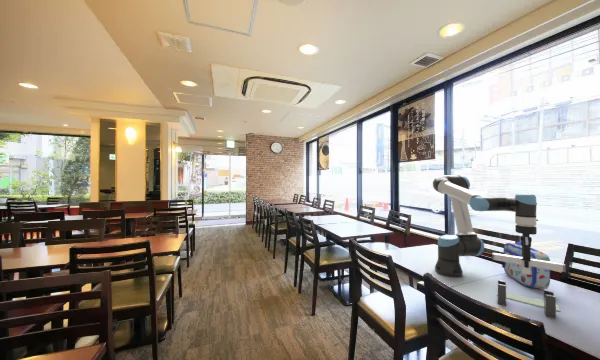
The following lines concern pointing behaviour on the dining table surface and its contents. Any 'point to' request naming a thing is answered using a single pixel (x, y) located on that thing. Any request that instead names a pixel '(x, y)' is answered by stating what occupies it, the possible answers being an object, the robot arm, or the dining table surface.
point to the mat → (527, 300)
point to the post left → (502, 292)
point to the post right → (549, 304)
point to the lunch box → (537, 275)
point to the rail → (533, 262)
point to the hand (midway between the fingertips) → (526, 272)
